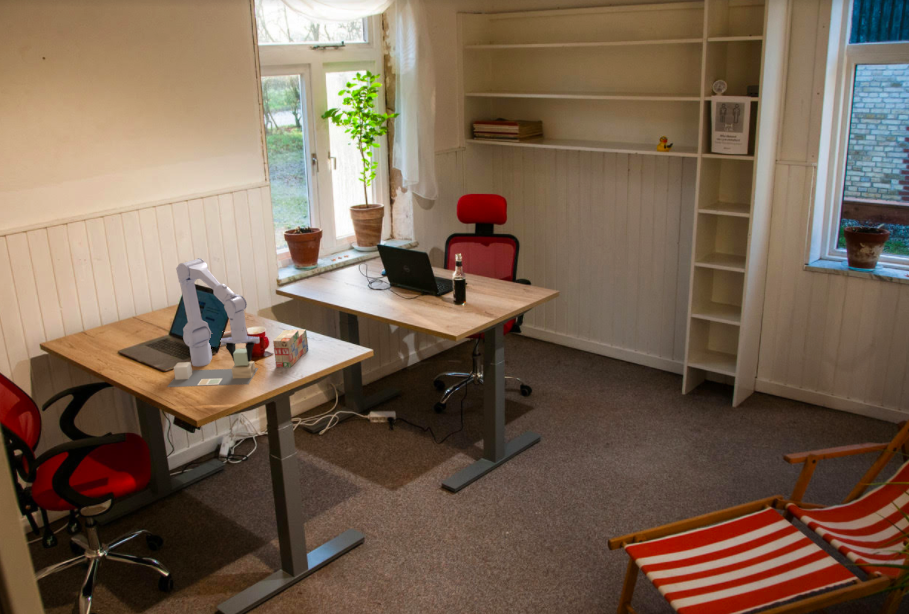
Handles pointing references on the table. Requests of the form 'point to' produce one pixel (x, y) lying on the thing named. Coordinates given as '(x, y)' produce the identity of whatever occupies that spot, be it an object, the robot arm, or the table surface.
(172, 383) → the mat
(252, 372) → the base block
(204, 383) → the card
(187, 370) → the offwhite cube
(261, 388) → the table surface
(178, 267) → the robot arm
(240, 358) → the sage cube
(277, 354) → the stack of blocks
